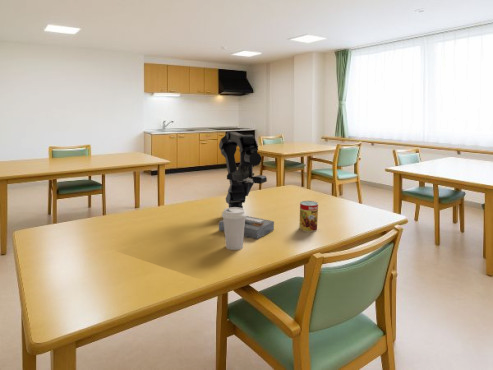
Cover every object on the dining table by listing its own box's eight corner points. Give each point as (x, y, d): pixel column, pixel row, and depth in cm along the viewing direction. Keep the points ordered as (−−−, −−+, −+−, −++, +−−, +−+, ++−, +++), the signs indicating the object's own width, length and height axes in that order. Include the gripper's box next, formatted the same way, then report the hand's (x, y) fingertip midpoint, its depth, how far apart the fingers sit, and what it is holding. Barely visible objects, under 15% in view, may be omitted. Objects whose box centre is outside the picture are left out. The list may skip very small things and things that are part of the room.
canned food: (313, 232, 160) (314, 206, 157) (296, 229, 164) (297, 203, 161) (319, 227, 166) (320, 202, 164) (303, 224, 170) (304, 199, 168)
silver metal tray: (218, 230, 163) (218, 217, 161) (237, 222, 174) (237, 210, 173) (257, 239, 152) (257, 225, 151) (273, 229, 163) (274, 217, 162)
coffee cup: (221, 242, 148) (221, 206, 145) (245, 242, 149) (245, 206, 146) (222, 252, 139) (221, 213, 135) (247, 251, 139) (247, 213, 136)
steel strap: (229, 218, 165) (229, 216, 165) (233, 216, 168) (233, 214, 167) (260, 223, 156) (260, 222, 156) (263, 222, 159) (263, 220, 159)
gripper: (219, 163, 166) (219, 196, 169) (254, 166, 156) (254, 202, 159) (233, 160, 175) (233, 192, 178) (267, 163, 165) (267, 197, 168)
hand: (246, 195), depth 171 cm, fingers closed
